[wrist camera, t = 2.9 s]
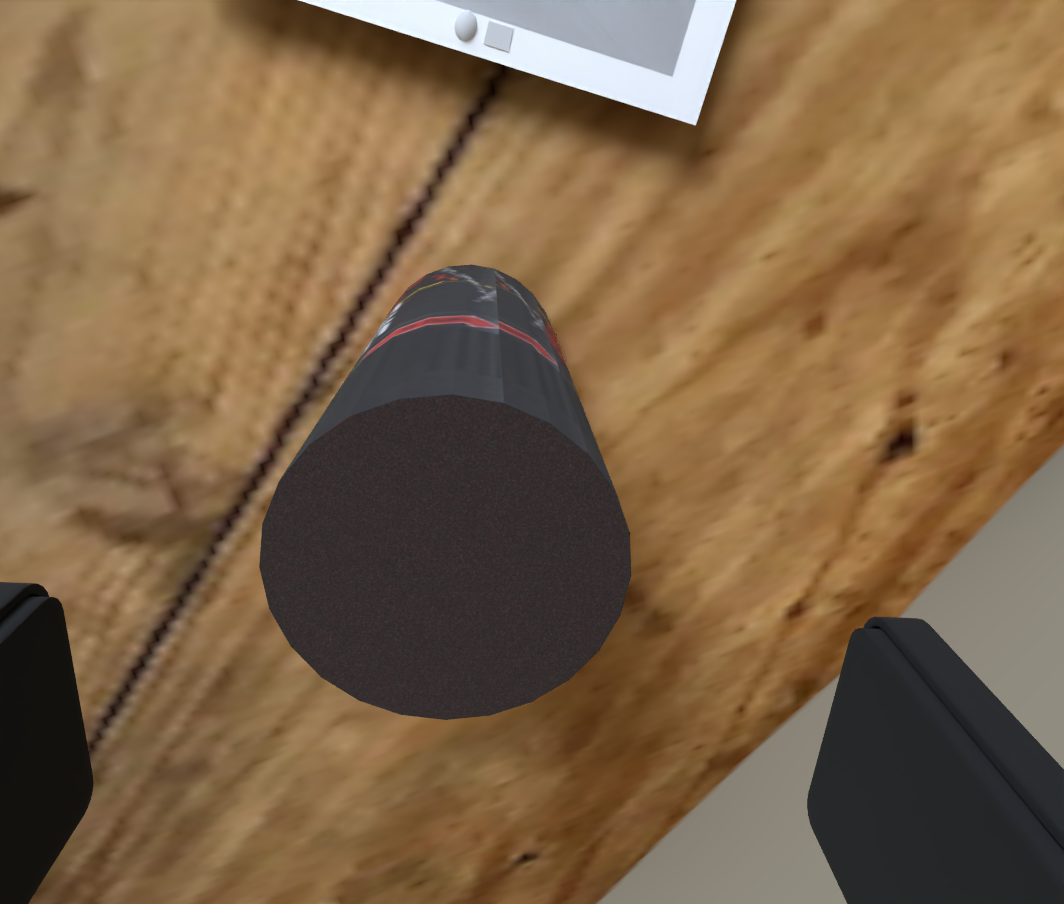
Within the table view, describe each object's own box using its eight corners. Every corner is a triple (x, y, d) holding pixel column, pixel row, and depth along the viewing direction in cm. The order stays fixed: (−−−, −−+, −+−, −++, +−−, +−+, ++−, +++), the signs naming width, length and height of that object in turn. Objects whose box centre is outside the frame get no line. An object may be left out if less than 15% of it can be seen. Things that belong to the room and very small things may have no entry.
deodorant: (408, 240, 25) (303, 343, 11) (577, 296, 26) (687, 457, 12) (364, 405, 26) (227, 676, 13) (524, 451, 27) (561, 750, 13)
